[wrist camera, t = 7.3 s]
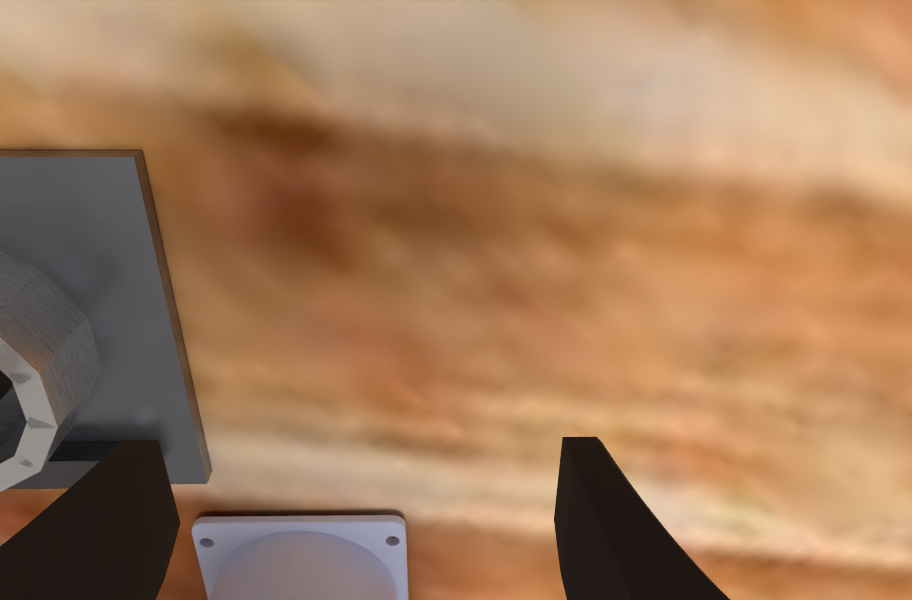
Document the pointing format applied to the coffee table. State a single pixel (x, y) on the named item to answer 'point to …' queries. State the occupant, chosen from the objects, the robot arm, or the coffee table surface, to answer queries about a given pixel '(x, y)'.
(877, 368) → the coffee table surface
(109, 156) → the cup bracket
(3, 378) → the dowel
